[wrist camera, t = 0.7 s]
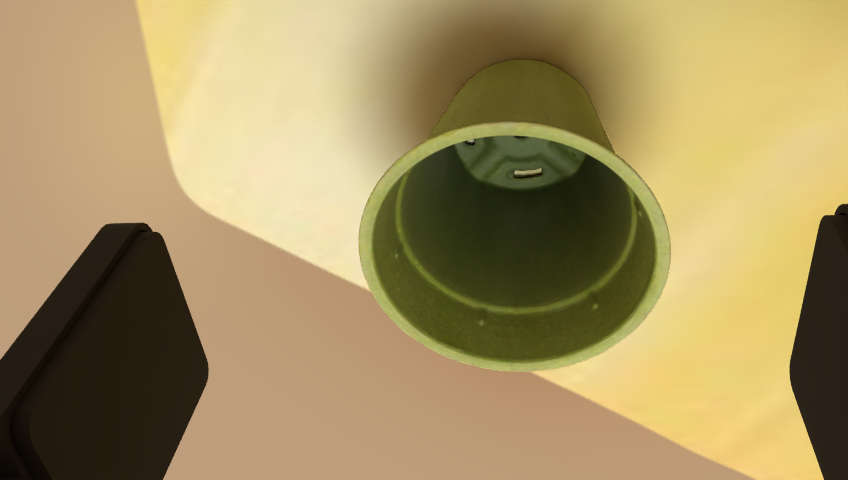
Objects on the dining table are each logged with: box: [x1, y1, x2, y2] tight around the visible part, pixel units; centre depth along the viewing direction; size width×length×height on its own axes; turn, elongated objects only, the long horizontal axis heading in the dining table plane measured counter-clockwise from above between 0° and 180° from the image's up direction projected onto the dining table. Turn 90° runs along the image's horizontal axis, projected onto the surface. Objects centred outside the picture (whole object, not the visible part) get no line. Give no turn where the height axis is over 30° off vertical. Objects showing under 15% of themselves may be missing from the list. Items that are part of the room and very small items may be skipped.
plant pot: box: [359, 59, 671, 372], centre depth 35 cm, size 12×12×11 cm
